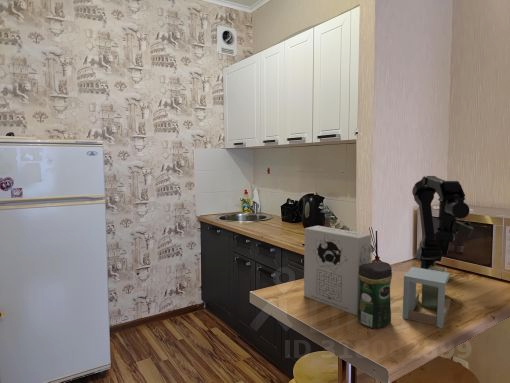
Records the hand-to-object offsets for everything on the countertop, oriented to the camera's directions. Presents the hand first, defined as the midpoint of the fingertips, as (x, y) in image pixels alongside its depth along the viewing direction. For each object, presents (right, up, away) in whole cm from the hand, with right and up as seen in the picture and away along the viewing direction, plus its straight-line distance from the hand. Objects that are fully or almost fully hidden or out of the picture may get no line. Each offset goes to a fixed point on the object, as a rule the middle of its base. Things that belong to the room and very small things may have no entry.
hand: (444, 254), depth 131 cm
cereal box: (-44, -14, -12) cm, 48 cm away
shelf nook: (-17, -15, -20) cm, 30 cm away
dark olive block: (-10, -14, -10) cm, 20 cm away
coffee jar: (-36, -16, -27) cm, 48 cm away
